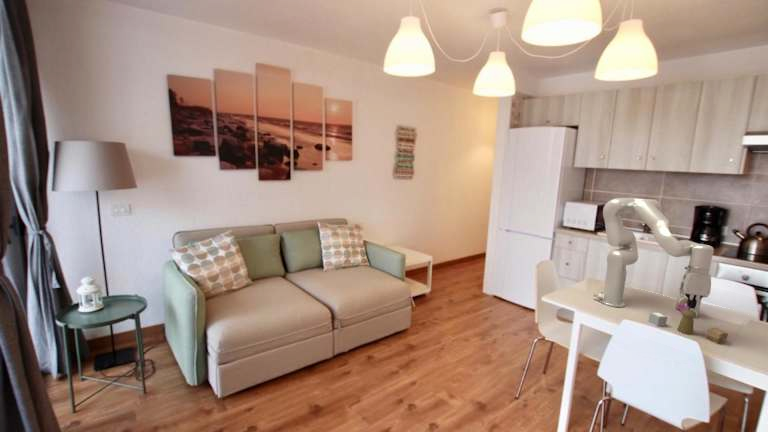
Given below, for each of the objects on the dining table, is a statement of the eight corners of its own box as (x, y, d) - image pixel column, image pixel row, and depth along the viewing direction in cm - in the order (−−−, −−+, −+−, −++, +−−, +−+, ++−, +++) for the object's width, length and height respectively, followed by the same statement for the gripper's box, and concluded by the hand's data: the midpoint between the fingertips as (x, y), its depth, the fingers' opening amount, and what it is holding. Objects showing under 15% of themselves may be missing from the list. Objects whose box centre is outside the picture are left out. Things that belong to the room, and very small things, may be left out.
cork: (673, 328, 175) (678, 307, 173) (685, 328, 175) (689, 308, 173) (685, 335, 169) (689, 313, 167) (696, 335, 169) (701, 313, 167)
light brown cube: (717, 344, 162) (719, 333, 161) (705, 338, 167) (707, 328, 166) (726, 343, 163) (728, 333, 162) (714, 337, 168) (716, 327, 167)
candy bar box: (674, 308, 199) (680, 280, 196) (685, 309, 199) (690, 281, 196) (687, 317, 189) (693, 288, 186) (698, 318, 188) (704, 289, 185)
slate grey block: (657, 326, 177) (659, 316, 176) (648, 321, 181) (650, 312, 180) (665, 326, 178) (667, 316, 177) (656, 321, 182) (658, 311, 181)
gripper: (683, 270, 165) (676, 308, 168) (722, 275, 161) (714, 313, 164) (675, 266, 172) (668, 301, 175) (712, 270, 168) (705, 306, 171)
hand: (690, 307), depth 170 cm, fingers closed
